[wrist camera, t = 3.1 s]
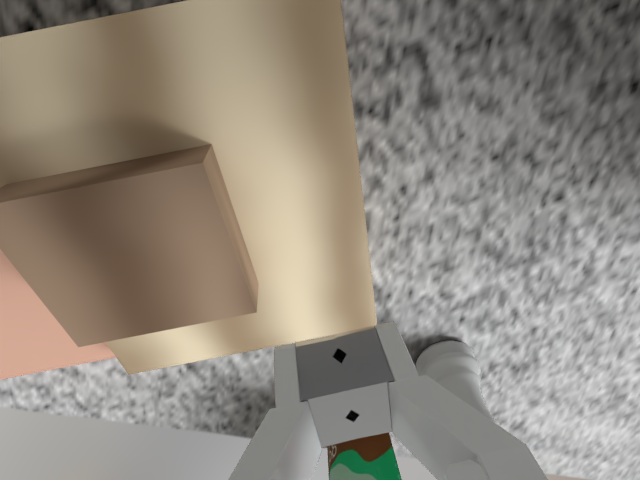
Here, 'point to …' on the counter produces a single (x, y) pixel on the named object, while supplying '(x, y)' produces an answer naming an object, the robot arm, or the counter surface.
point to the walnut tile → (131, 246)
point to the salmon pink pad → (34, 331)
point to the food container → (363, 459)
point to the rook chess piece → (455, 372)
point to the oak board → (228, 143)
